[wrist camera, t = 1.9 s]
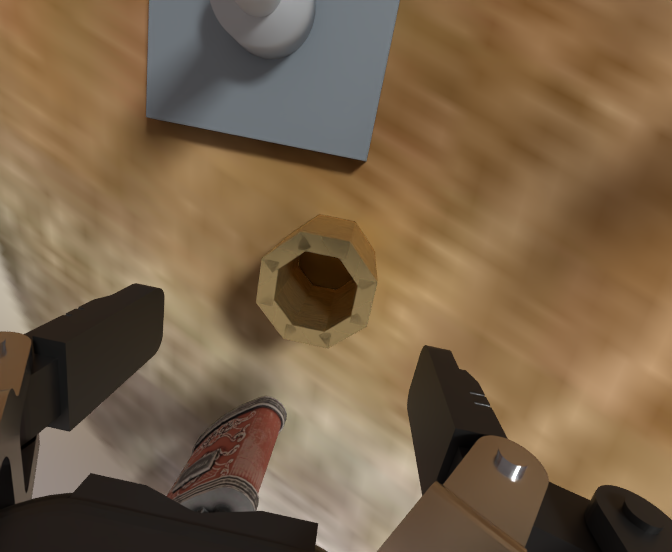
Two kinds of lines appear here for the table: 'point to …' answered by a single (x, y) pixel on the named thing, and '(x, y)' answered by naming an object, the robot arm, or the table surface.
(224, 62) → the grey peg stand
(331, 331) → the bushing
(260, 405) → the small tin
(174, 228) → the table surface
